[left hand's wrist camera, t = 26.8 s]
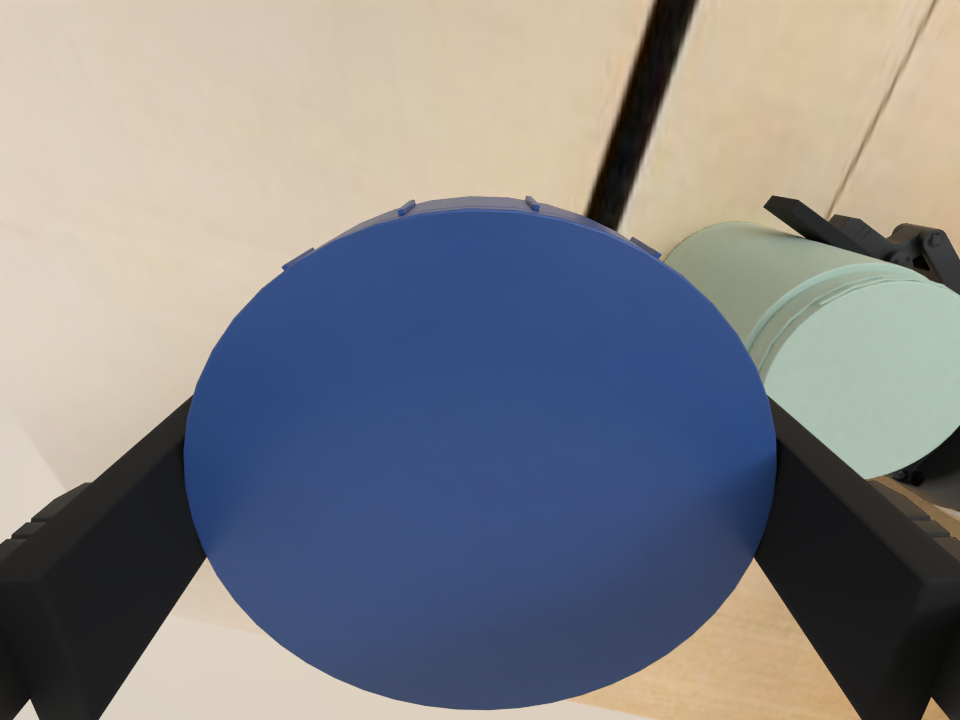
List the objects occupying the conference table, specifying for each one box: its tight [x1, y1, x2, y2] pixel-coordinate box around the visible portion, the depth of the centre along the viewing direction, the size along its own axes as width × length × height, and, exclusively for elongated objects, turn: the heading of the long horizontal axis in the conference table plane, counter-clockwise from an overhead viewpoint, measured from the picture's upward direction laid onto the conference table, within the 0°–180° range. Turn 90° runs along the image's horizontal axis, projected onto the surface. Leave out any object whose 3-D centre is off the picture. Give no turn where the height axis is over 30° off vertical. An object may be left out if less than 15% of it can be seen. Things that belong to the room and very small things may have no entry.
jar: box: [664, 222, 960, 479], centre depth 31 cm, size 10×10×16 cm
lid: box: [183, 196, 777, 710], centre depth 11 cm, size 11×11×2 cm
